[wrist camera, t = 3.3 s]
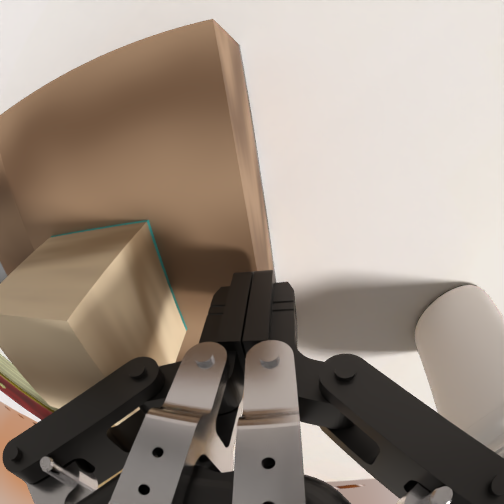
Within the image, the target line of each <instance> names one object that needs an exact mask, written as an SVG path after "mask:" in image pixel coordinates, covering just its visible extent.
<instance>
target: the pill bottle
mask: <svg viewBox="0 0 504 504" xmlns="http://www.w3.org/2000/svg"><path fill="white" fill-rule="evenodd" d="M415 343H416V347H417V350H418V353H419V355H420V358H421V361H422V364H423V367H424V370H425V373H426V376H427V379H428V382H429V385H430V388H431V391H432V394H433V398H434V401H435V404H436V408H437V411H438V414H440V415H441V416H443V417H444V418H446V419H447V420H448V421H450V422H451V423H453V424H454V425H456V426H457V427H458V428H460V429H461V430H463V431H464V432H466V433H467V434H469V435H470V436H472V437H473V438H474V439H476V440H477V441H479V442H480V443H482V444H483V445H485V446H486V447H488V448H489V449H491V450H492V451H494V452H495V453H497V454H498V455H500V456H501V457H502V458H504V317H503V315H502V314H501V312H500V311H499V309H498V308H497V306H496V305H495V303H494V302H493V300H492V299H491V297H490V296H489V295H488V294H487V293H486V292H485V291H484V290H483V289H482V288H480V287H477V286H473V285H465V286H460V287H457V288H454V289H452V290H450V291H448V292H446V293H445V294H443V295H441V296H440V297H439V298H437V299H436V300H435V301H434V302H433V303H432V304H431V305H430V306H429V307H428V308H427V309H426V310H425V311H424V313H423V314H422V315H421V317H420V319H419V321H418V323H417V325H416V329H415Z"/></svg>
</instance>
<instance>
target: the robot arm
mask: <svg viewBox="0 0 504 504" xmlns="http://www.w3.org/2000/svg"><path fill="white" fill-rule="evenodd" d="M243 391H244V398H242V397H243ZM138 407H139V408H140V410H138V411H137V412H136V413H134V414H133V415H131V416H130V417H129V418H127V419H126V420H124V421H123V422H121V423H120V424H119V425H117V426H115V427H111V426H113V425H114V424H116V423H117V422H119V421H120V420H121V419H123V418H124V417H126V416H127V415H128V414H130V413H131V412H133V411H134V410H135V409H137V408H138ZM242 410H243V414H242ZM241 414H242V417H241ZM300 421H301V422H305V423H309V424H313V425H317V426H320V428H321V429H322V431H323V432H324V433H325V434H327V435H328V436H329V437H330V438H331V439H332V440H333V441H334V442H335V443H336V444H337V445H338V446H339V447H340V448H342V449H343V450H344V451H345V452H346V453H347V454H348V455H349V456H350V457H351V458H353V459H354V460H355V461H356V462H357V463H358V464H359V465H360V466H362V467H363V468H364V469H365V470H366V471H367V472H368V473H370V474H371V475H372V476H373V477H374V478H375V479H377V480H378V481H379V482H380V483H381V484H383V485H384V486H385V487H386V488H388V489H389V490H390V491H391V492H392V493H394V494H395V495H396V496H397V497H398V498H400V499H399V500H398V502H397V503H396V504H504V458H502V457H501V456H500V455H498V454H497V453H495V452H494V451H492V450H491V449H489V448H488V447H486V446H485V445H483V444H482V443H480V442H479V441H477V440H476V439H474V438H473V437H472V436H470V435H469V434H467V433H466V432H464V431H463V430H461V429H460V428H458V427H457V426H456V425H454V424H453V423H451V422H450V421H448V420H447V419H446V418H444V417H443V416H441V415H440V414H438V413H437V412H436V411H434V410H433V409H431V408H430V407H429V406H427V405H426V404H424V403H423V402H421V401H420V400H419V399H417V398H416V397H414V396H413V395H412V394H410V393H409V392H407V391H406V390H405V389H403V388H402V387H400V386H399V385H398V384H396V383H395V382H394V381H392V380H391V379H389V378H388V377H387V376H385V375H384V374H382V373H381V372H380V371H378V370H377V369H376V368H374V367H373V366H371V365H370V364H369V363H367V362H366V361H365V360H363V359H362V358H360V357H358V356H356V355H352V354H339V355H335V356H333V357H331V358H329V359H328V360H326V361H325V362H322V361H317V360H313V359H309V358H307V357H305V356H304V355H302V354H301V353H300V352H299V351H298V349H297V318H296V307H295V296H294V290H293V288H292V287H291V285H290V284H289V283H288V282H281V283H276V280H275V274H274V270H263V271H254V272H253V271H251V272H238V273H234V274H233V277H232V281H231V284H230V286H225V287H221V288H220V289H219V290H218V291H217V292H216V293H215V294H214V295H213V298H212V301H211V305H210V308H209V311H208V315H207V317H206V321H205V324H204V327H203V330H202V334H201V337H200V340H199V344H197V345H195V346H193V347H191V348H190V349H189V350H188V351H187V352H186V353H185V355H184V357H183V359H182V361H179V362H175V363H171V364H167V365H162V366H158V364H157V362H156V361H155V360H154V359H152V358H150V357H137V358H134V359H132V360H130V361H129V362H127V363H126V364H124V365H123V366H121V367H120V368H118V369H117V370H115V371H114V372H113V373H111V374H110V375H108V376H107V377H105V378H104V379H102V380H101V381H99V382H98V383H96V384H95V385H94V386H92V387H91V388H89V389H88V390H86V391H85V392H83V393H82V394H80V395H79V396H77V397H76V398H74V399H73V400H71V401H70V402H68V403H67V404H65V405H64V406H62V407H61V408H59V409H58V410H56V411H55V412H53V413H52V414H50V415H49V416H47V417H46V418H44V419H43V420H41V421H40V422H38V423H37V424H35V425H34V426H32V427H31V428H29V429H28V430H26V431H24V432H23V433H22V434H20V435H18V436H17V437H15V438H14V439H12V440H11V441H10V442H8V444H7V445H6V447H5V449H4V451H3V463H4V465H5V467H6V469H7V470H9V471H10V472H11V473H13V474H14V475H16V476H17V477H19V478H21V479H22V480H23V481H24V482H25V483H26V484H27V486H28V489H29V491H30V494H31V496H32V499H33V501H34V503H35V504H351V503H350V502H349V501H348V500H347V499H346V498H345V497H344V496H343V495H342V494H341V493H340V492H339V491H338V490H336V489H335V488H334V487H332V486H331V485H329V484H327V483H326V482H324V481H322V480H319V479H317V478H314V477H311V476H308V475H304V471H303V456H302V442H301V429H300ZM235 440H236V448H235V465H234V461H233V448H234V444H235ZM233 465H234V471H233ZM122 469H123V470H122ZM121 470H122V472H121V473H119V474H118V475H117V476H115V477H114V478H112V479H111V480H110V481H108V482H107V483H105V484H104V485H102V486H101V487H100V488H98V485H100V484H101V483H103V482H104V481H106V480H107V479H109V478H110V477H112V476H113V475H115V474H116V473H118V472H119V471H121Z"/></svg>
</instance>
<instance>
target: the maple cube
mask: <svg viewBox="0 0 504 504" xmlns="http://www.w3.org/2000/svg"><path fill="white" fill-rule="evenodd" d="M186 331H187V326H186V324H185V321H184V319H183V316H182V314H181V311H180V309H179V306H178V303H177V301H176V298H175V295H174V293H173V290H172V287H171V284H170V282H169V279H168V276H167V273H166V270H165V268H164V265H163V262H162V259H161V256H160V253H159V250H158V247H157V244H156V241H155V238H154V235H153V232H152V229H151V225H150V222H149V220H143V221H136V222H130V223H123V224H117V225H111V226H105V227H99V228H93V229H87V230H81V231H76V232H70V233H65V234H59V235H54V236H51V237H50V238H49V239H47V240H46V241H45V242H44V243H43V244H42V245H41V246H39V247H38V248H37V249H36V250H35V251H34V252H33V253H32V254H31V255H29V256H28V257H27V258H26V259H25V260H24V261H23V262H22V263H21V264H20V265H19V266H18V267H17V268H16V269H15V270H14V271H13V272H12V273H11V274H9V275H8V276H7V277H6V278H5V279H4V280H3V282H2V283H1V284H0V348H1V349H2V351H3V352H4V353H5V355H6V356H7V357H8V359H9V360H10V361H11V362H12V364H13V365H14V366H15V367H16V369H17V370H18V371H19V372H20V373H21V375H22V376H23V377H24V378H25V379H26V381H27V382H28V383H29V384H30V385H31V386H32V387H33V388H34V390H35V391H36V392H37V393H38V394H39V395H40V396H41V397H42V398H43V399H44V400H45V401H46V402H47V403H48V404H49V405H50V406H52V407H55V408H58V409H59V408H61V407H62V406H64V405H65V404H67V403H68V402H70V401H71V400H73V399H74V398H76V397H77V396H79V395H80V394H82V393H83V392H85V391H86V390H88V389H89V388H91V387H92V386H94V385H95V384H96V383H98V382H99V381H101V380H102V379H104V378H105V377H107V376H108V375H110V374H111V373H113V372H114V371H115V370H117V369H118V368H120V367H121V366H123V365H124V364H126V363H127V362H129V361H130V360H132V359H134V358H137V357H150V358H152V359H154V360H155V361H156V362H157V364H158V366H162V365H167V364H171V363H175V362H176V359H177V356H178V353H179V351H180V348H181V345H182V342H183V339H184V336H185V334H186ZM138 410H140V408H139V407H138V408H137V409H135V410H134V411H133V412H131V413H130V414H128V415H127V416H126V417H124V418H123V419H121V420H120V421H119V422H117V423H116V424H114V425H116V426H117V425H119V424H120V423H121V422H123V421H124V420H126V419H127V418H129V417H130V416H131V415H133V414H134V413H136V412H137V411H138Z"/></svg>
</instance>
